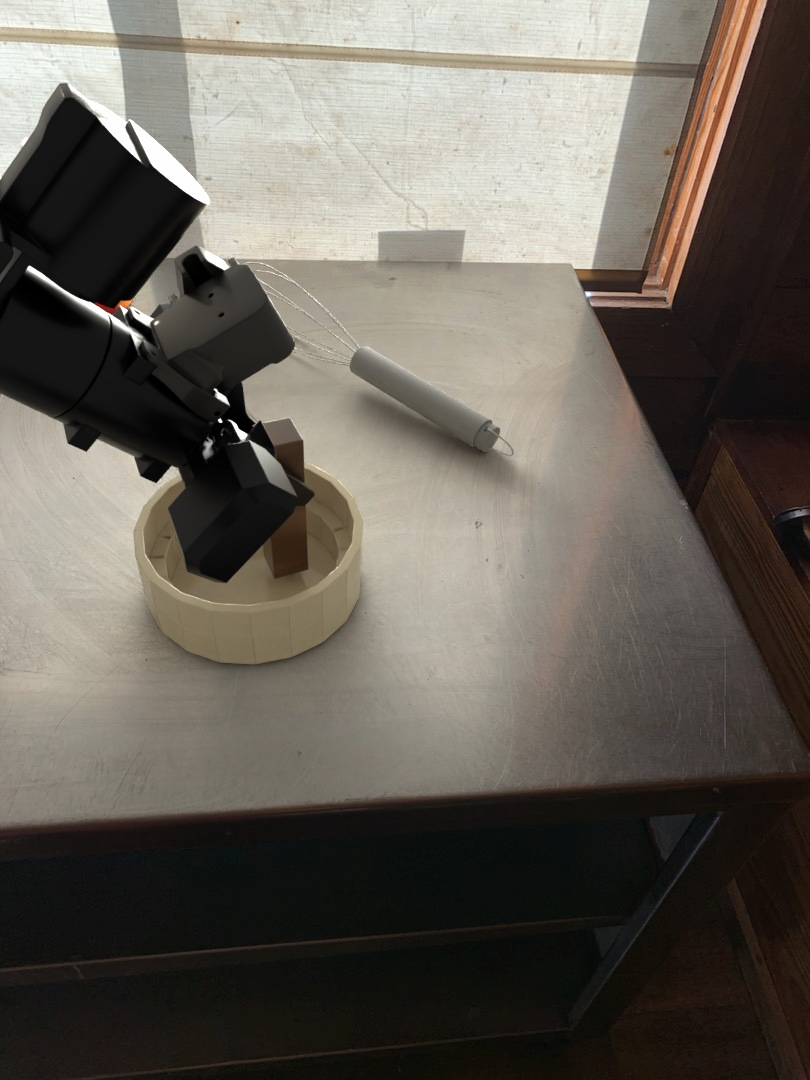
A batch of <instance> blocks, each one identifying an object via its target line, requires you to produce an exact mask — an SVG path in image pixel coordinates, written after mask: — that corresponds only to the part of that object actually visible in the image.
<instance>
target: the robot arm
mask: <svg viewBox="0 0 810 1080" xmlns="http://www.w3.org/2000/svg"><path fill="white" fill-rule="evenodd" d="M210 201H211V200H210V198H209V196H208V194H207V193H206V192H205V190H204V189H203V187H202V186H201V185H200V184H199V182H198V181H197V180H196V179H195V178H194V177H193V176H192V175H191V173H190V172H189V171H188V170H187V169H186V168H185V167H184V166H183V165H182V164H181V163H180V162H179V161H178V160H177V159H176V158H175V157H173V155H172V154H171V153H170V152H169V151H168V150H166V149H165V148H164V147H163V146H162V144H160V143H158V141H157V140H155V138H153V137H152V136H151V135H150V134H149V133H148V132H146V131H145V130H144V129H143V128H142V127H140V125H138V124H137V123H135V121H133V120H132V119H128V121H125V120H124V119H123V118H121V117H120V116H119V115H117V114H116V113H114V112H113V111H111V110H110V109H108V108H107V107H106V106H103V105H102V104H100V103H98V102H96V101H92V100H89V99H88V98H87V97H85V96H84V94H81V93H80V92H79V91H78V90H77V89H75V88H74V87H73V86H72V85H70V84H69V83H68V82H60V83H58V84H57V86H56V88H55V89H54V91H53V92H52V93H51V94H50V96H49V98H48V99H47V100H46V102H45V104H44V106H43V108H42V110H41V113H40V116H39V119H38V122H37V124H36V126H35V128H34V129H33V131H32V133H31V134H30V136H29V137H28V140H27V141H26V143H25V144H24V146H23V147H22V149H21V148H20V150H19V151H18V153H17V154H16V156H15V157H14V158H13V160H12V161H11V163H10V164H9V166H8V167H7V168H6V170H5V171H4V173H3V174H2V175H1V174H0V395H2V396H4V397H7V398H8V399H10V400H13V401H15V402H18V403H20V404H21V405H24V406H26V407H28V408H30V409H32V410H33V411H36V412H39V413H41V414H42V415H45V416H47V417H49V418H51V419H53V420H55V421H58V422H59V423H61V424H62V426H63V430H64V434H65V439H66V441H67V442H66V443H67V445H70V446H72V447H74V448H76V449H78V450H81V451H83V452H86V453H87V452H88V451H89V450H90V448H91V447H92V446H93V445H94V443H95V442H96V441H97V440H98V441H100V442H102V443H104V444H107V445H109V446H111V447H112V448H115V449H117V450H119V451H121V452H124V453H126V454H128V455H129V456H131V457H133V458H134V461H135V464H136V467H137V470H138V475H139V476H140V477H141V478H143V479H145V480H148V481H150V482H152V483H154V484H157V483H158V482H159V481H160V480H161V479H162V478H163V477H164V475H165V474H166V473H167V472H168V471H169V470H170V468H171V467H173V468H175V469H177V470H178V473H179V475H181V478H182V481H183V484H184V486H185V489H184V490H183V491H182V492H181V494H180V495H179V496H178V497H177V498H176V499H175V500H174V502H173V503H172V504H171V505H170V506H169V507H168V511H169V516H170V521H171V526H172V529H173V532H174V535H175V538H176V541H177V544H178V547H179V550H180V553H181V556H182V558H183V561H184V564H185V567H186V570H187V572H189V573H191V574H194V575H197V576H200V577H202V578H205V579H208V580H211V581H213V582H216V583H227V582H228V581H229V580H230V579H231V578H232V577H233V576H234V575H235V574H236V573H237V572H238V571H239V570H240V569H241V567H242V566H243V565H244V564H245V563H246V562H247V561H248V560H249V559H250V558H251V557H252V556H253V555H254V554H255V553H256V552H257V551H258V550H259V549H260V548H261V546H262V545H263V544H264V543H265V542H266V541H267V540H268V539H269V538H270V537H271V536H272V535H273V534H274V533H275V532H276V531H277V530H278V529H279V528H280V527H281V525H282V524H283V523H284V522H285V521H286V520H287V519H288V518H289V517H290V516H291V515H292V514H293V513H294V509H295V507H298V506H304V505H306V504H307V503H308V502H309V501H310V500H311V499H312V498H313V497H314V496H315V493H314V491H313V489H312V488H311V487H309V486H308V485H307V484H306V483H305V482H304V481H303V480H301V479H300V478H299V477H298V476H297V475H295V474H294V473H293V472H291V471H290V470H289V469H288V468H286V467H285V466H284V465H283V464H281V463H280V462H279V461H278V460H276V449H275V446H274V444H273V442H272V440H271V438H270V436H269V434H268V432H267V430H266V428H265V427H264V425H263V423H264V422H263V421H262V419H257V417H255V415H254V414H253V413H252V412H251V411H250V409H248V408H247V406H246V401H245V393H244V385H243V384H244V383H243V382H244V381H246V380H247V379H249V378H251V377H252V376H254V375H255V374H257V373H259V372H260V371H262V370H264V369H265V368H266V367H268V366H270V365H273V364H274V365H278V364H279V363H281V362H284V360H286V359H287V358H288V357H289V356H291V355H292V353H293V352H292V351H295V349H294V348H296V341H295V339H294V338H295V337H294V336H292V335H291V334H292V332H291V331H290V329H288V328H287V327H286V326H287V325H286V323H285V321H284V319H283V318H282V316H281V315H280V313H279V312H278V310H277V308H276V306H275V305H274V303H273V301H272V300H271V298H270V297H269V295H268V293H267V292H265V291H266V290H265V288H264V286H263V284H262V283H261V282H259V281H258V279H259V278H257V275H256V274H255V272H253V271H254V270H252V268H251V266H250V265H249V264H245V263H239V261H238V260H237V258H236V257H235V256H233V257H231V258H229V259H228V260H227V262H228V264H229V265H228V264H227V263H226V261H224V259H222V258H220V257H219V256H217V255H215V254H214V253H212V252H210V251H209V250H207V249H205V248H203V247H201V246H199V245H193V246H192V247H191V248H189V249H187V250H186V251H183V252H182V253H181V254H179V255H178V256H176V257H175V258H174V269H175V278H176V287H177V290H178V292H179V297H178V296H177V294H176V293H172V294H171V295H169V296H168V301H169V302H164V303H159V304H158V305H157V307H156V308H155V309H154V310H153V311H152V313H151V314H150V315H146V314H145V313H143V312H141V311H140V310H138V309H137V308H135V307H133V306H129V308H128V309H127V308H123V307H121V306H119V308H118V309H117V310H116V311H115V313H112V314H109V313H107V312H105V311H103V310H102V309H100V308H99V307H97V306H95V305H94V304H92V303H99V304H101V305H103V306H106V307H109V308H112V309H115V307H116V306H117V305H118V304H119V302H120V301H131V300H132V301H133V300H134V298H135V297H136V296H137V295H138V294H139V292H141V290H142V288H143V287H144V286H145V285H146V283H147V282H148V281H149V280H150V279H151V277H152V276H153V275H154V273H155V272H156V271H157V269H159V268H160V266H161V265H162V263H163V262H164V261H165V260H166V258H167V257H168V256H169V255H170V253H172V251H173V250H174V248H175V247H176V246H177V245H178V243H179V242H180V241H181V240H182V238H183V237H184V236H185V234H186V233H187V232H188V231H189V230H190V228H191V227H192V226H193V225H194V223H195V222H196V221H197V220H198V219H199V217H200V216H201V215H202V213H203V212H204V211H205V209H206V208H207V207H208V206H209V205H210V203H211V202H210ZM255 424H256V425H255ZM252 425H255V426H254V427H253V428H252Z"/></svg>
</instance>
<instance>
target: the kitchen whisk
mask: <svg viewBox="0 0 810 1080" xmlns="http://www.w3.org/2000/svg"><path fill="white" fill-rule="evenodd" d="M244 264H246V265H253V264H255V265H256V264H258V265H261V266H264V267H267V268H270V269H272V270H273V271H275V272H277V273H278V274H277V273H275V272H273V271H270V270H269V271H267V270H258V269H255V270H252V271H253V273H256V272H257V273H265V274H266V273H267V274H271V275H274V276H277V277H279V278H282V279H284V280H285V281H287V282H288V283H290V284H292V285H294V286H296V287H297V288H299V290H301V291H303V293H304V294H306V295H307V296H308V297H309V298H310V299H312V301H314V302H315V304H316V305H317V306H318V307H319V308H320V309H322V310H323V311H324V312H325V313H326V314H327V315H328V317H329V318H330V319H331V320H332V321H333V322H334V323H335V324H336V325H337V326H338V327H339V328H340V330H342V332H343V333H344V334H345V335H346V336H347V337H348V338H349V340H350V341H351V342H352V343H353V344H354V346H355V347H356V348H357V350H355V349H354V348H353V347H352V346H350V345H349V344H348V343H346V342H345V341H344V340H343V339H342V338H340V337H339V336H337V335H336V334H335V333H334V332H333V331H331V330H330V329H328V328H327V327H326V326H325V325H324V324H322V322H319V320H317V319H315V318H314V317H313V316H312V315H310V314H309V313H307V311H305V310H304V309H302V308H301V307H300V306H298V305H297V304H296V303H295V302H292V301H291V300H290V299H289V298H287V297H286V296H285V295H283V294H282V293H280V292H279V291H277V290H276V289H274V288H273V287H271V286H270V285H269V284H267V283H265V282H264V281H262V280H261V279H259V278H257V279H258V281H259V282H260V284H262V285H264V286H266V287H267V288H269V289H270V290H272V291H274V293H276V294H278V295H279V296H281V297H279V296H277V295H276V294H274V293H272V292H270V291H267V290H265V292H266V293H267V294H269V295H271V296H273V297H275V298H277V299H278V300H280V301H283V302H284V303H286V304H287V305H289V306H291V307H293V308H294V309H296V310H297V311H299V312H300V313H301V314H303V315H305V316H306V317H307V318H309V319H311V320H312V321H314V322H315V323H316V324H318V325H319V326H320V327H322V328H323V329H324V330H326V331H327V332H328V333H330V335H332V336H333V337H334V338H336V339H337V340H338V341H340V342H341V343H343V345H344V346H346V347H347V348H348V349H349V350H351V351H352V352H353V353H354V354H353V355H352V356H350V355H347V354H345V353H343V352H341V351H338V350H337V349H334V348H332V347H331V346H329V345H326V344H324V343H322V342H320V341H318V340H316V339H314V338H312V337H310V336H307V335H306V334H304V333H301V332H300V331H297V330H296V329H293V328H292V327H291V326H287V325H286V327H287V328H288V330H289V331H293V332H294V333H296V334H298V335H301V336H302V337H304V338H307V339H309V340H310V341H313V342H315V343H317V344H319V345H321V346H323V347H325V348H327V349H329V350H331V351H329V350H327V349H324V348H322V347H320V346H317V345H316V344H313V343H311V342H309V341H307V340H305V339H303V338H301V337H298V336H297V335H295V334H293V333H291V335H292V337H293V338H296V339H298V340H300V341H302V342H304V343H305V344H308V345H310V346H312V347H315V348H317V349H319V350H321V351H323V352H326V353H328V354H330V355H333V356H336V357H338V358H341V359H343V360H346V361H348V362H346V361H343V360H339V359H334V358H331V357H328V356H323V355H319V354H317V353H313V352H309V351H307V350H303V349H300V348H298V347H294V350H293V351H292V353H295V354H297V355H301V356H304V357H307V358H311V359H315V360H317V361H321V362H325V363H326V362H327V363H331V364H336V365H339V366H345V367H349V370H350V372H351V373H352V374H354V375H355V376H356V377H359V378H360V379H362V380H363V381H365V382H367V383H368V384H370V385H371V386H373V387H374V388H376V389H378V390H379V391H381V392H382V393H384V394H386V395H387V396H389V397H391V398H392V399H394V400H395V401H398V402H399V403H400V404H401V405H404V406H405V407H407V408H409V409H411V410H412V411H413V412H415V413H417V414H418V415H420V416H421V417H423V418H425V419H426V420H428V421H430V422H432V423H433V424H434V425H436V426H437V427H439V428H441V429H442V430H444V431H446V432H447V433H449V434H450V435H452V436H454V437H456V439H458V440H461V441H462V442H464V443H465V444H467V445H468V446H470V447H472V448H473V449H478V450H480V451H482V452H484V453H486V452H488V451H490V450H492V451H495V452H497V453H499V454H501V455H504V456H508V457H512V456H514V454H515V452H514V449H513V447H512V446H511V444H509V442H508V441H507V440H505V439H504V438H503V437H502V436H500V434H501V428H500V426H497V425H495V423H493V420H492V419H490V418H488V417H486V416H485V415H483V414H481V413H480V412H478V411H477V410H475V409H473V408H472V407H470V406H468V405H466V404H465V403H463V402H462V401H459V400H458V399H457V398H455V397H454V396H451V395H450V394H448V393H446V392H445V391H443V390H441V389H440V388H439V387H436V386H435V385H433V384H431V383H430V382H428V381H426V380H425V379H423V378H421V377H420V376H417V375H416V374H414V373H412V372H411V371H410V370H408V369H406V368H405V367H403V366H401V365H399V364H397V363H396V362H395V361H393V360H391V359H390V358H387V357H385V356H384V355H382V354H381V353H380V352H378V351H376V350H374V349H372V348H371V347H369V346H368V345H363V346H360V345H359V343H357V341H356V340H355V339H354V337H353V336H352V335H351V334H350V333H349V332H348V330H347V329H346V328H345V327H344V326H343V325H342V324H341V323H340V322H339V320H338V319H337V318H336V317H335V316H334V315H333V313H331V312H330V311H329V310H328V309H327V308H326V307H325V306H324V305H323V304H321V303H320V302H319V300H317V299H316V298H315V297H314V296H312V294H311V293H309V292H308V291H306V290H305V289H304V288H303V287H301V285H299V284H298V283H297V282H295V281H294V280H293V279H291V278H290V277H289V276H287V275H286V274H285V273H283V272H281V271H279V270H278V269H276V268H274V267H273V266H272V265H268V264H266V263H263V262H259V261H249V262H245V263H244ZM332 351H333V352H332ZM334 352H335V353H334ZM337 353H338V354H337ZM339 354H340V355H339ZM499 439H500V440H501V441H503V443H505V444H506V445H507V446H508V447H509V449H510V451H511V453H506V452H503V451H500V450H498V449H496V448H494V445H496V443H497V441H498V440H499Z"/></svg>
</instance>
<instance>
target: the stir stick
mask: <svg viewBox="0 0 810 1080" xmlns="http://www.w3.org/2000/svg"><path fill="white" fill-rule="evenodd" d="M262 423H263V425H264V427H265V428H266V430H267V432H268V434H269V436H270V438H271V440H272V442H273V444H274V446H275V449H276V460H278V461H279V462H280V463H281V464H283V465H284V466H285V467H286V468H288V469H289V470H290V471H291V472H293V473H294V474H295V475H297V476H298V477H299V478H300V479H301V480H303V481H304V482H305V470H304V462H305V449H304V447H305V446H304V444H305V443H304V439H303V437H302V435H301V433H300V432H299V430H298V428H297V426H296V425H295V423H294V421H293V419H292V418H291V417H290V416H289V417H284V418H279V419H275V420H269V421H265V422H262ZM255 425H256V424H255ZM255 425H252V428H253V427H254V426H255ZM263 552H264V557H265V559H266V561H267V564H268V566H269V568H270V570H271V573H272V575H273V577H274V579H276V578H280V577H284V576H287V575H291V574H295V573H298V572H302V571H305V570H308V549H307V523H306V505H304V506H298V507H295V509H294V513H293V514H292V515H291V516H290V517H289V518H288V519H287V520H286V521H285V522H284V523H283V524H282V525H281V527H280V528H279V529H278V530H277V531H276V532H275V533H274V534H273V535H272V536H271V537H270V538H269V539H268V540H267V541H266V542H265V543H264V544H263Z"/></svg>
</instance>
